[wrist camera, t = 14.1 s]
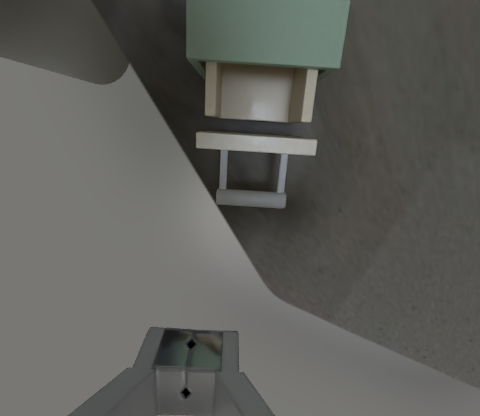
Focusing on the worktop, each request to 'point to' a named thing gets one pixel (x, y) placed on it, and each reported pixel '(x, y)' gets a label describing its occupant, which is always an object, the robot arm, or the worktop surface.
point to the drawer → (257, 109)
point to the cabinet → (267, 33)
